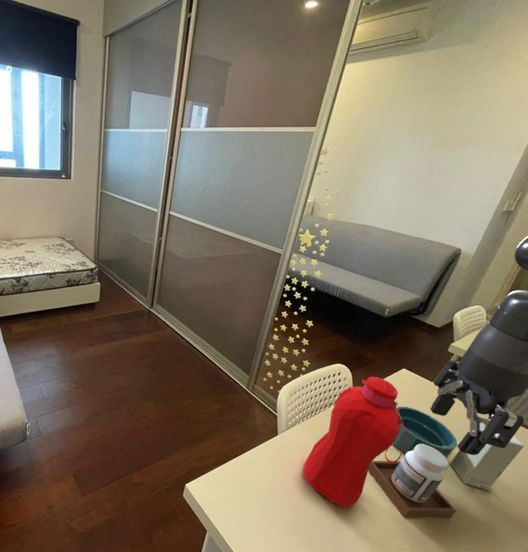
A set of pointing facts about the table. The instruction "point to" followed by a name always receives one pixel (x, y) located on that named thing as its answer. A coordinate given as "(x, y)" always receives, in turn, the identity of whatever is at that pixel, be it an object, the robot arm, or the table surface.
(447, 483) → the table surface
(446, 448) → the bowl
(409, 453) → the pill bottle
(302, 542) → the table surface
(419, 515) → the tray
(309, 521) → the table surface
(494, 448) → the box
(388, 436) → the water bottle
